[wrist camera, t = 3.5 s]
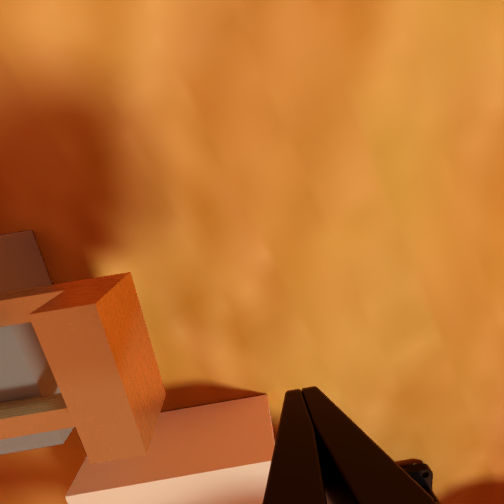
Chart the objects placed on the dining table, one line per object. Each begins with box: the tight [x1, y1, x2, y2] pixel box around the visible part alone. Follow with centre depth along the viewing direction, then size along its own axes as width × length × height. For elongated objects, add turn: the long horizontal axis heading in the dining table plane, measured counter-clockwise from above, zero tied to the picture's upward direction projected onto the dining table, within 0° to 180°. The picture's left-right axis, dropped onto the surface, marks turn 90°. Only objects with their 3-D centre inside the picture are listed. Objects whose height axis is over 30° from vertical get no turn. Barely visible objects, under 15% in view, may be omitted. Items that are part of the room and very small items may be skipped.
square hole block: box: [65, 394, 275, 504], centre depth 16 cm, size 10×10×4 cm
